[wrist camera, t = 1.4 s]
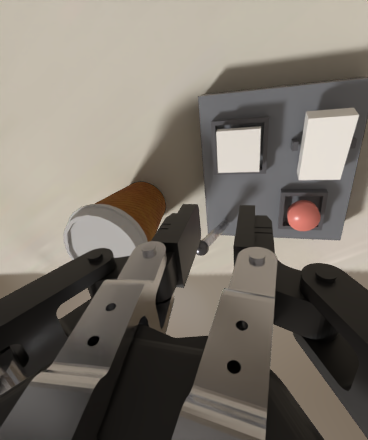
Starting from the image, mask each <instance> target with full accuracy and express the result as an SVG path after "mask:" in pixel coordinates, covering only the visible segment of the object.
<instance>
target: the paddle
mask: <svg viewBox="0 0 368 440" xmlns="http://www.w3.org/2000/svg"><path fill="white" fill-rule="evenodd" d="M260 138H261V126H259V127H245V128H230V129H218V130H217V131H216V139H217V162H218V173H234V172H259V166H260Z"/></svg>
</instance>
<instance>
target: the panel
mask: <svg viewBox="0 0 368 440" xmlns="http://www.w3.org/2000/svg"><path fill="white" fill-rule="evenodd" d="M198 102H199V115H200V129H201V143H202V157H203V171H204V184H205V198H206V212H207V226H208V234H209V233H210V232H211V231H212V230H213V229H214V228H215V227H216V226H217V225H218V224H219V223H220V222H221V221H223V220H227V221H228V222H229V226H228V227H227V228H226V229H225V230H224V231H223V232H222V234H221V235H233V236H235V234H236V227H237V220H238V214H239V207H240V205H255V215H267V216H268V217H269V219H270V220H271V221H272V229H273V237H277V238H299V239H322V240H340V239H341V235H342V230H343V226H344V221H345V217H346V212H347V208H348V203H349V199H350V194H351V190H352V185H353V181H354V176H355V172H356V167H357V163H358V158H359V154H360V149H361V145H362V140H363V136H364V131H365V127H366V122H367V118H368V77H361V78H352V79H342V80H333V81H324V82H315V83H306V84H296V85H287V86H278V87H269V88H259V89H250V90H241V91H232V92H222V93H213V94H204V95H201V96H198ZM342 108H355V110H356V111H357V113H358V114H359V117H358V121H357V124H356V128H355V131H354V135H353V138H352V141H351V145H350V148H349V152H348V155H347V158H346V162H345V165H344V169H343V172H342V175H341V179H340V180H298V175H297V167H298V161H299V154H300V148H301V141H302V135H303V128H304V122H305V115H306V111H317V110H329V109H342ZM259 126H261V138H260V166H259V172H234V173H218V162H217V139H216V131H217V130H218V129H230V128H245V127H259ZM300 200H307V201H311V202H313V203H314V204H315V205H316V206H317V208H318V210H319V213H320V217H321V218H320V222H319V224H318V225H317V226H316V227H315V228H313V229H311V230H309V231H298V230H295V229H293V228H292V227H291V226H290V225H289V222H288V218H287V211H288V208H289V207H290V206H291V205H292V204H293V203H295V202H297V201H300Z"/></svg>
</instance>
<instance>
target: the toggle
mask: <svg viewBox="0 0 368 440" xmlns="http://www.w3.org/2000/svg"><path fill="white" fill-rule="evenodd" d="M228 226H229V222H228V221H227V220H223V221H221V222H220V223H219V224H218V225H217V226H216V227H215V228H214V229H213V230H212V231H211V232H210V233H209V234H208V235H207V236H206V237H205V238H204V239H203V240H200V244H199V247H198V250H197V252H196V254H197V255H200V256H202V255H205V254H206V253H207V252H208V250H209V246H210V245H211V244H212V243H213V242H214V241H215V240H216V239H217V238H218V237H219V236H220V235H221V234H222V232H223V231H224V230H225V229H226V228H227V227H228Z"/></svg>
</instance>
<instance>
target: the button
mask: <svg viewBox="0 0 368 440" xmlns="http://www.w3.org/2000/svg"><path fill="white" fill-rule="evenodd" d="M287 218H288V222H289V225H290V226H291V227H292V228H293V229H295V230H298V231H309V230H311V229H313V228H315V227H316V226H317V225H318V224H319V222H320V218H321V217H320V213H319V210H318V208H317V206H316V205H315V204H314V203H313V202H311V201H307V200H300V201H297V202H295V203H293V204H292V205H291V206H290V207H289V208H288V211H287Z"/></svg>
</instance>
